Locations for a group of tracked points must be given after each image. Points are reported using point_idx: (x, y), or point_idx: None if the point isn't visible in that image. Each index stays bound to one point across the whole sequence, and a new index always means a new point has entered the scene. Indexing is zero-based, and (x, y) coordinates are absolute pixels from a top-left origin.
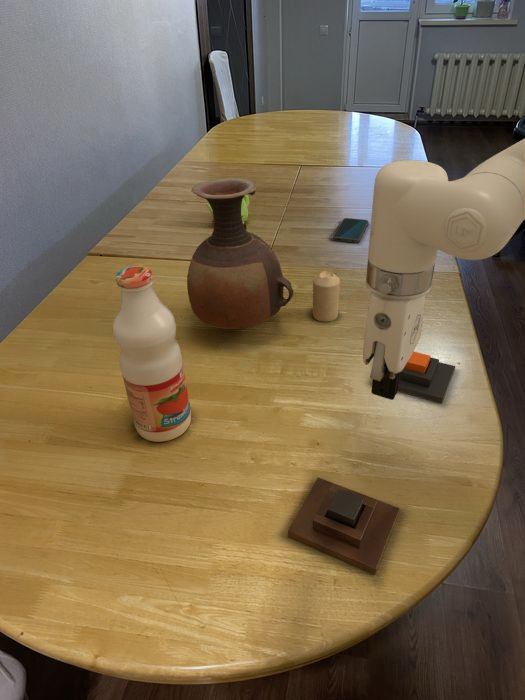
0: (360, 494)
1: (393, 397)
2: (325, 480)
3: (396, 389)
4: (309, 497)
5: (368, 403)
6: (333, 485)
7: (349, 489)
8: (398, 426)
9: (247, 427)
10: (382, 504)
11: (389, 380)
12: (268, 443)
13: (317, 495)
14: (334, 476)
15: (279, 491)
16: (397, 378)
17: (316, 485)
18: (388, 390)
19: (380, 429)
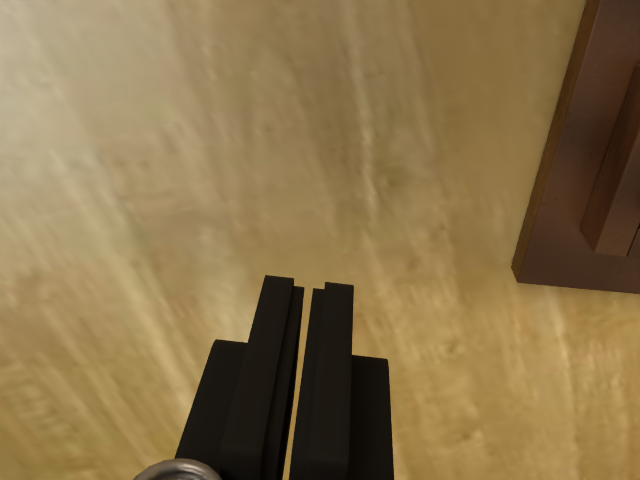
0: (566, 136)
1: (351, 296)
2: (527, 259)
3: (286, 311)
4: (614, 284)
5: (59, 208)
6: (599, 247)
7: (549, 177)
8: (117, 71)
9: None
10: (602, 44)
11: (377, 476)
12: (393, 420)
13: (601, 265)
14: (468, 228)
15: (572, 350)
16: (322, 431)
17: (555, 278)
18: (364, 377)
19: (172, 135)
